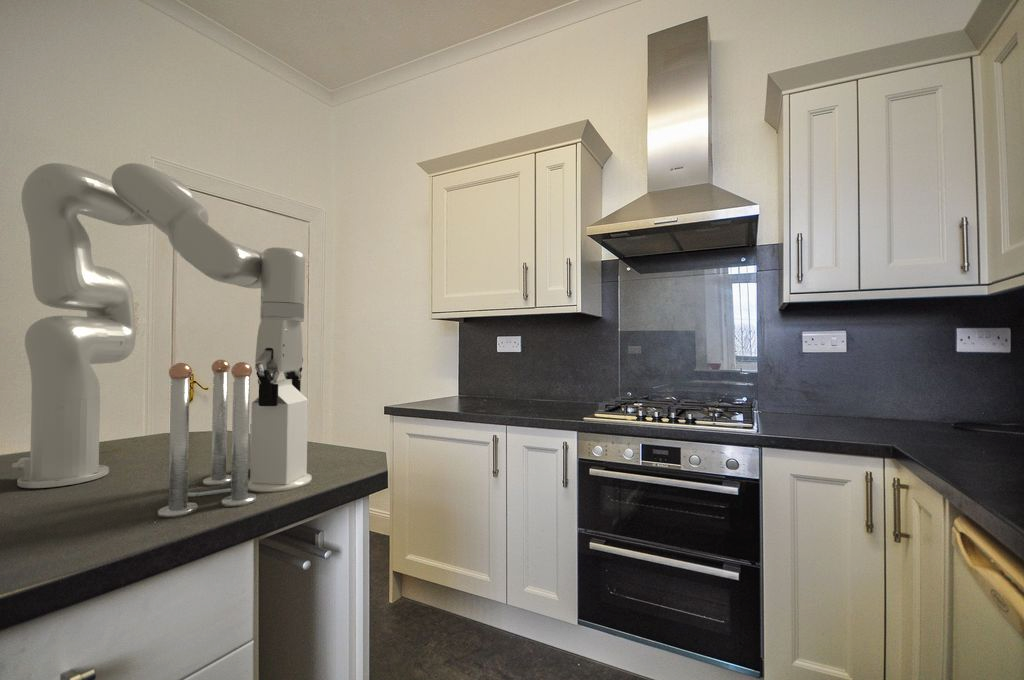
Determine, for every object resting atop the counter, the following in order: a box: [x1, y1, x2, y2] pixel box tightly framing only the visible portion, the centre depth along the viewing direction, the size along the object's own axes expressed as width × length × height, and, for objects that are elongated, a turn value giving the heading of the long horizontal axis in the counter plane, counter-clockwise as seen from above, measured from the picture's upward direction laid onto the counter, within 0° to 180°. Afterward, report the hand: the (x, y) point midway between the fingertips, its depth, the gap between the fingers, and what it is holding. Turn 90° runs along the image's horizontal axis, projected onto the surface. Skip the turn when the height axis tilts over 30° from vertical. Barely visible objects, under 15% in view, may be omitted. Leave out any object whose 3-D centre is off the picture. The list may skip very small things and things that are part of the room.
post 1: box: [157, 362, 198, 519], centre depth 72 cm, size 5×5×24 cm
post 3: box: [221, 361, 257, 508], centre depth 77 cm, size 5×5×24 cm
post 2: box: [202, 359, 231, 487], centre depth 88 cm, size 5×5×24 cm
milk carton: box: [249, 379, 309, 484], centre depth 88 cm, size 7×7×19 cm
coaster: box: [248, 473, 313, 493], centre depth 87 cm, size 11×11×1 cm
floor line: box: [188, 487, 231, 497], centre depth 81 cm, size 11×2×1 cm, turn 112°
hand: (280, 402), depth 87 cm, fingers open, 9 cm apart
